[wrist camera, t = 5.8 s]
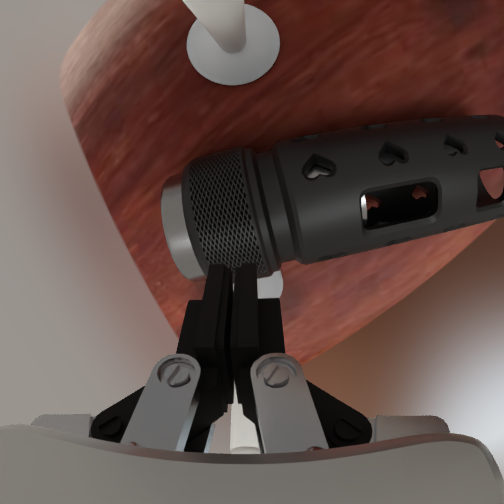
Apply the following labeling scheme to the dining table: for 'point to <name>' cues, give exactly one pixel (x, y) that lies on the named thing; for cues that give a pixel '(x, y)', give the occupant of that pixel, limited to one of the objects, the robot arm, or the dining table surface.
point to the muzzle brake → (331, 194)
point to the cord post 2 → (240, 425)
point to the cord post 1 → (231, 41)
